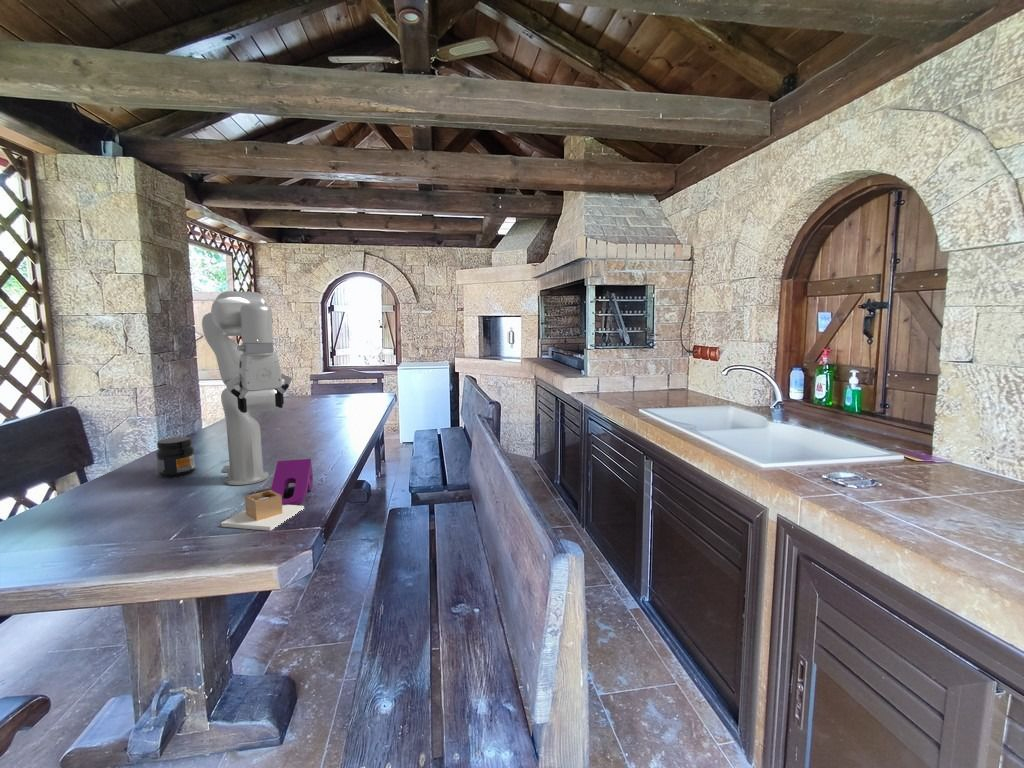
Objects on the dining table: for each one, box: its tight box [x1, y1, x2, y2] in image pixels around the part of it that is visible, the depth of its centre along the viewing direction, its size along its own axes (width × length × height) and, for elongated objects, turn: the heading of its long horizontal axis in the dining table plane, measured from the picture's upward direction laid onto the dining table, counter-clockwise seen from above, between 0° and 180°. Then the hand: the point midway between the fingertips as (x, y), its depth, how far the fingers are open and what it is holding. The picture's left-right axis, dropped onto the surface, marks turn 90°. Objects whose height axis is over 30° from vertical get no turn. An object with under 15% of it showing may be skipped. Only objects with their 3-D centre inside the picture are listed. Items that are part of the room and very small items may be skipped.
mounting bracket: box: [270, 458, 314, 505], centre depth 142 cm, size 10×8×18 cm
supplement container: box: [155, 436, 196, 479], centre depth 163 cm, size 10×10×12 cm
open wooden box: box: [244, 489, 283, 521], centre depth 126 cm, size 7×7×5 cm
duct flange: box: [220, 497, 305, 532], centre depth 127 cm, size 14×14×5 cm
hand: (261, 409), depth 135 cm, fingers open, 9 cm apart
